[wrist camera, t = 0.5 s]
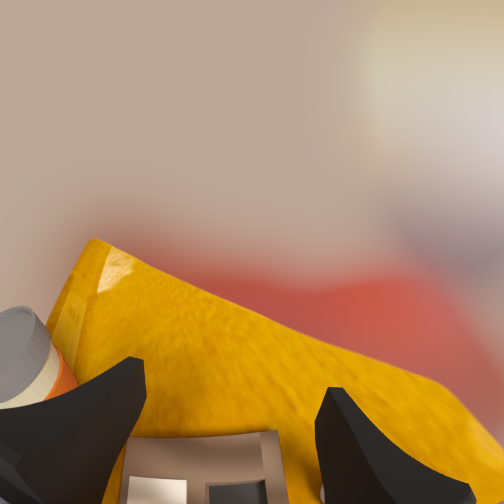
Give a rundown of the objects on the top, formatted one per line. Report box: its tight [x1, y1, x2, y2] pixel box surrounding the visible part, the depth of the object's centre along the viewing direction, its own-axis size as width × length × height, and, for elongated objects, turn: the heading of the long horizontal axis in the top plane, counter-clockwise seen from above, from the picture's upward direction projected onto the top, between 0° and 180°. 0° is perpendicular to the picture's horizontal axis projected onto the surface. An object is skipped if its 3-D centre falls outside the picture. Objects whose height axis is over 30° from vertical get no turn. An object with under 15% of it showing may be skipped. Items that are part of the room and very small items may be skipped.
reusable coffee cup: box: [0, 306, 78, 409], centre depth 23 cm, size 13×13×15 cm
